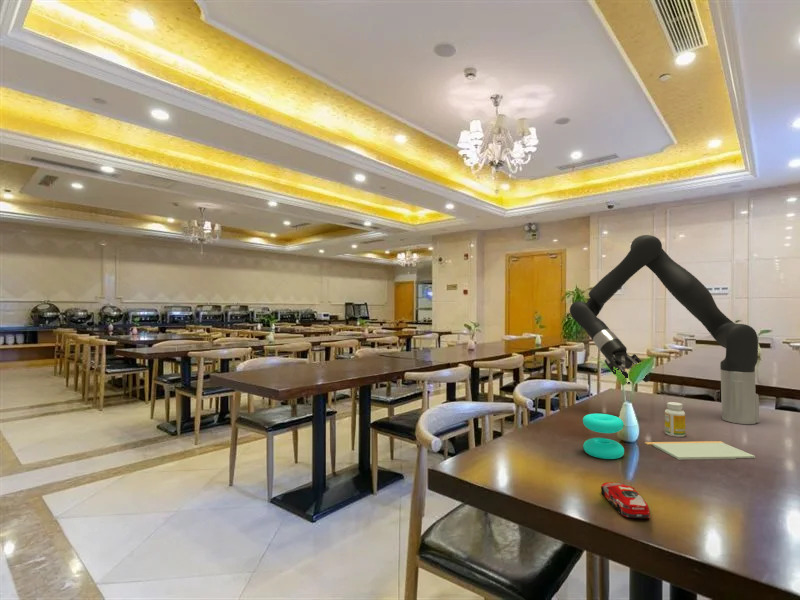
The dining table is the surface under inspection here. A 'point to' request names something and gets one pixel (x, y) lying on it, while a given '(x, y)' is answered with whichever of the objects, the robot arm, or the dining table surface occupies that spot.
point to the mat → (702, 451)
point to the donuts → (603, 445)
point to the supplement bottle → (675, 420)
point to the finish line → (683, 442)
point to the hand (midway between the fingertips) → (639, 381)
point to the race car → (625, 500)
